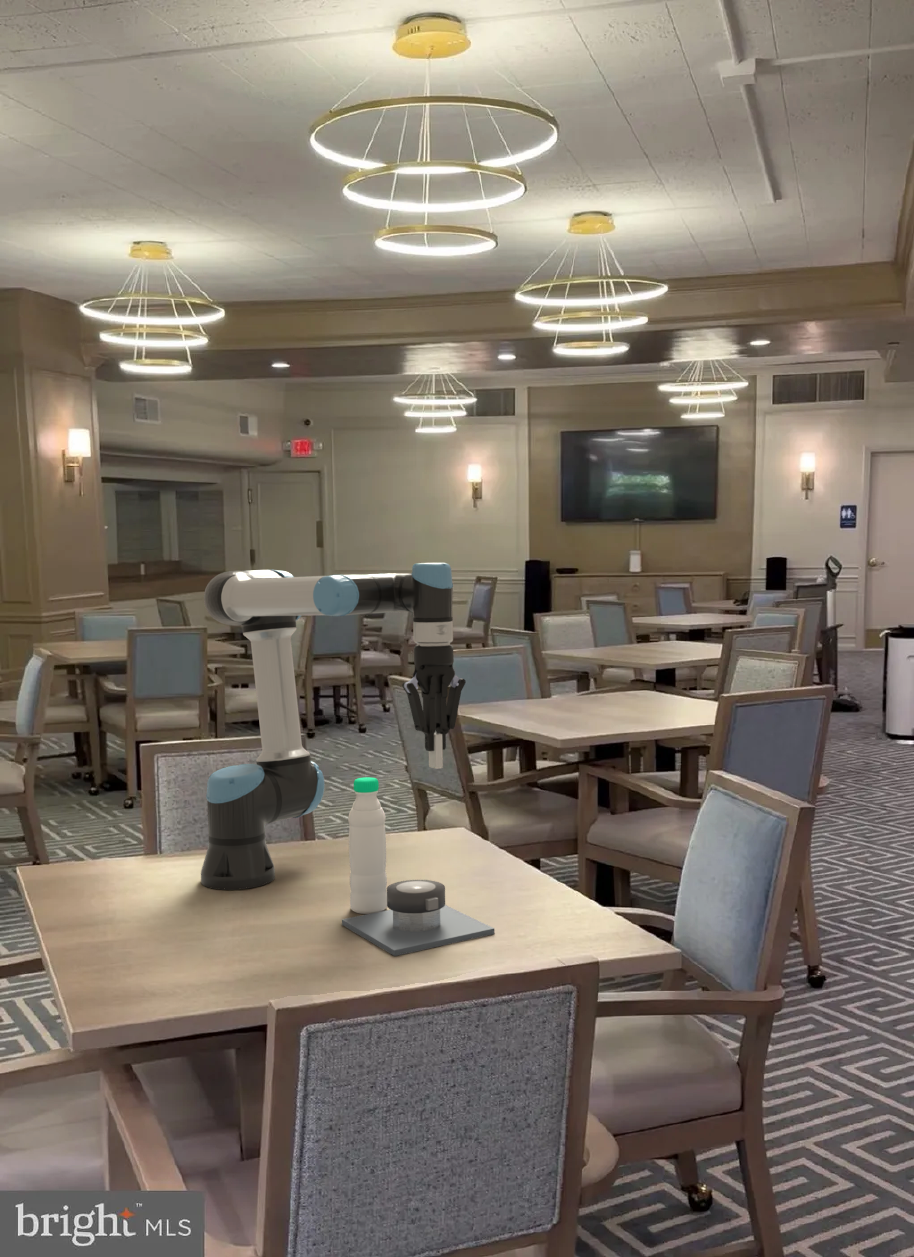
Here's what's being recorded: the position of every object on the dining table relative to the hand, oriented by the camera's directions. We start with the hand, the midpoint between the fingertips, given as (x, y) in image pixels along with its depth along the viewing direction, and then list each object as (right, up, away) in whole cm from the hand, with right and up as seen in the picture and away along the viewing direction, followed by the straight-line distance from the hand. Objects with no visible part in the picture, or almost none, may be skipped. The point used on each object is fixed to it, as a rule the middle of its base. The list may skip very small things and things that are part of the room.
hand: (435, 767), depth 217 cm
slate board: (-3, -27, -14) cm, 31 cm away
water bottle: (-13, -27, -1) cm, 30 cm away
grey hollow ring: (-3, -27, -14) cm, 31 cm away
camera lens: (-3, -25, -14) cm, 29 cm away
